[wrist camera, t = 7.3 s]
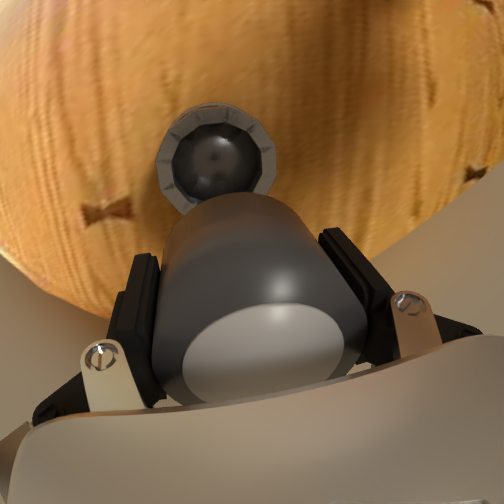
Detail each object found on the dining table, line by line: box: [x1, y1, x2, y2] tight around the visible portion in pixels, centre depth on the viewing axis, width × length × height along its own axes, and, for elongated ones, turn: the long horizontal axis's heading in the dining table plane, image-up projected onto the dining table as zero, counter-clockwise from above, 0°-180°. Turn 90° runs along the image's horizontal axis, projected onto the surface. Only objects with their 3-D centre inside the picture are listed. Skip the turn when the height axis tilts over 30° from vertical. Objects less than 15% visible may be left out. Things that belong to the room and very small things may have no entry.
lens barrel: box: [155, 103, 277, 215], centre depth 28 cm, size 10×10×8 cm
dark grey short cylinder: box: [152, 192, 368, 406], centre depth 10 cm, size 6×6×5 cm
